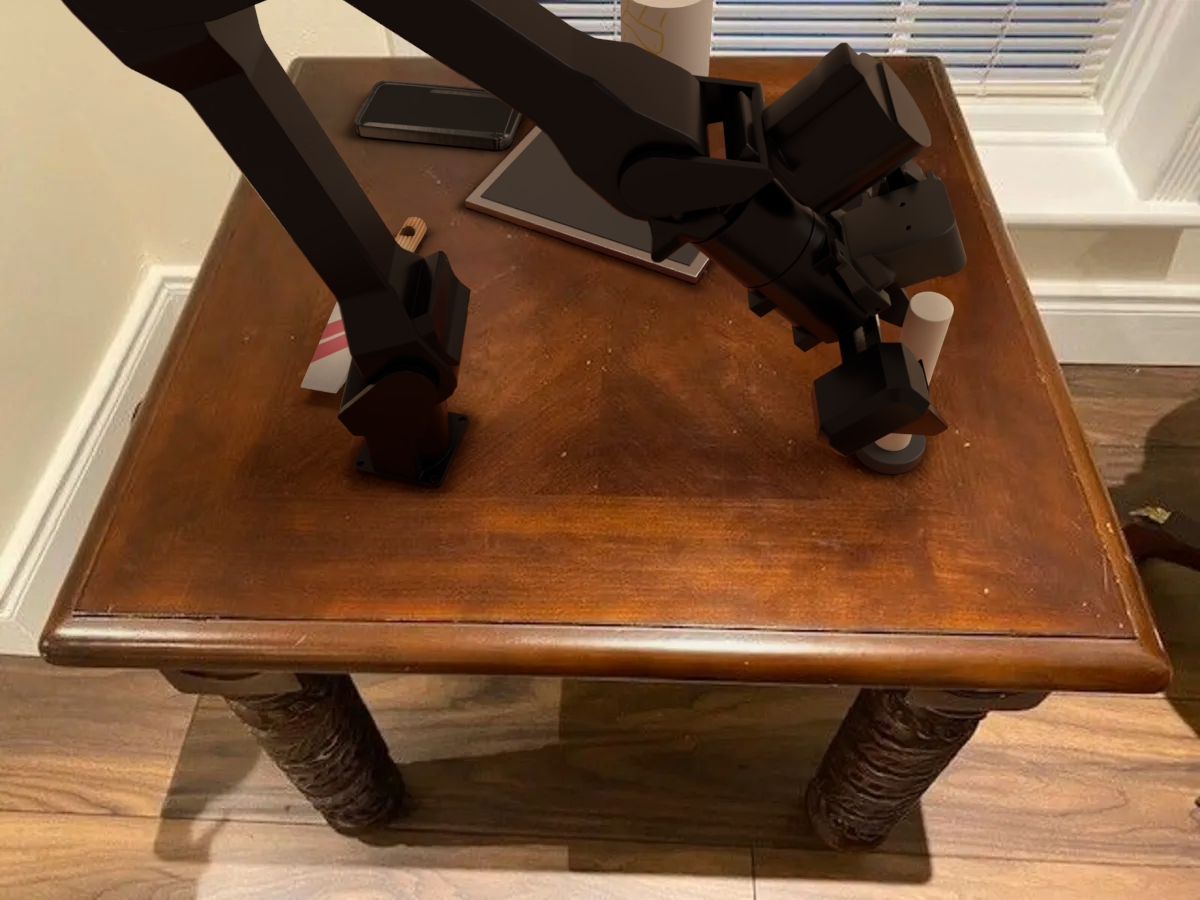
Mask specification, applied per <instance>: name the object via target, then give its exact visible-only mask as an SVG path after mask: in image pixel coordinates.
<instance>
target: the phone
mask: <svg viewBox="0 0 1200 900" xmlns="http://www.w3.org/2000/svg"><path fill="white" fill-rule="evenodd" d="M523 116H524V115H522V114H520V113H519V112H517V111H516V110H514V109H513V108H511V107H509V106H508V105H506V104H505V103H503V102H502V101H500V100H498V99H497V98H495V97H494V96H492V95H491V94H489V93H487V92H486V91H484V90H483V89H481V88H480V87H470V86H469V87H467V86H457V85H447V84H436V83H422V82H413V81H402V80H391V79H385V80H383V79H382V80H380V81H377V82H376V83H375V84H373V86H372V88H371V89H370V91H369V93H368V94H367V96H366V98H365V100H364V102H363V104H362V105H361V107H360V109H359V110H358V112H357V114H356V115H355V117H354V125H355V126H354V127H355V129H356V133H357V134H358V135H359V136H361V137H364V138H375V139H384V140H394V141H403V142H404V141H405V142H414V143H415V142H416V143H422V144H423V143H425V144H435V145H445V146H454V147H455V146H456V147H465V148H473V149H474V148H475V149H484V150H495V151H500V150H505V149H507V148H509V147H510V146H511V145H512V143H513V141H514V138H515V136H516V133H517V131H518V128H519V126H520V124H521V121H522V119H523Z"/></svg>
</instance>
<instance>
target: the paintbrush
mask: <svg viewBox="0 0 1200 900" xmlns="http://www.w3.org/2000/svg"><path fill="white" fill-rule="evenodd" d="M427 228H428V226H427V225H426V222H424V220H423V219H421V218H420V217H417V216H411V217H408V218H407V219H406V220H405V221H404V223H403V225H402V227H401V228H400V230H399V232H397V235H396V237H394V239H395V240H396V242H397V243H398V244H399V245H400V246H401V247H402V248H404V249H406V250H409V251H411V252H413V253H415V251H416V249H417V248H418V246H419V245H420V243H421V241H422V239H423V237H424V236H425V234H426V233H427ZM351 358H352V357H351V355H350V352H349V348H348V344H347V339H346V335H345V331H344V326H343V322H342V318H341V314H340V309H339V305H338V303H337V302H336V303H335V305H334V307H333V310H332V312H331V314H330V317H329V319H328V321H327V323H326V326H325V329H324V331H323V333H322V335H321V338H320V340H319V343H318V345H317V347H316V349H315V351H314V354H313V357H312V358H311V361H310V363H309V366H308V368H307V370H306V373H305V376H304V377H303V380H302V382H301V384H300V388H302V389H308V390H313V391H319V392H324V393H330V394H337V393H338V392H339V390H340V389H341V388H342V387H343V385H344V384H345V383H346V379H347V375H348V371H349V367H350V362H351Z"/></svg>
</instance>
